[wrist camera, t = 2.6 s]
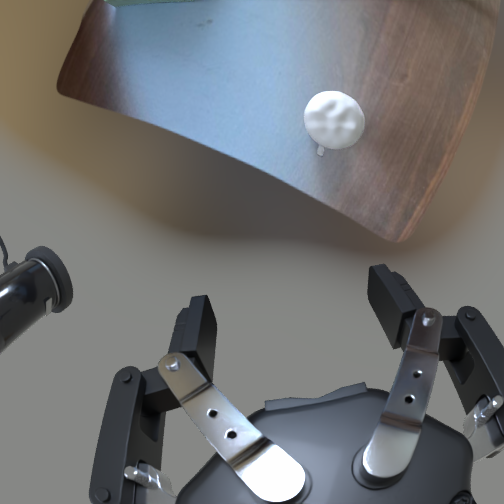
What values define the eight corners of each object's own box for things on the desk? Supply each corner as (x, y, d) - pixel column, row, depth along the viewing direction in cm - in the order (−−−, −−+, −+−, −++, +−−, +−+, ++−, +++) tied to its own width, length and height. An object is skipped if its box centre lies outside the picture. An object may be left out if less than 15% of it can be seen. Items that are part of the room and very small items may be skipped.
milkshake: (290, 143, 27) (288, 140, 17) (313, 99, 25) (322, 74, 15) (330, 164, 27) (348, 171, 17) (352, 120, 25) (381, 107, 15)
